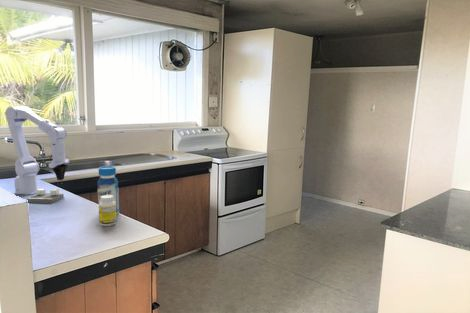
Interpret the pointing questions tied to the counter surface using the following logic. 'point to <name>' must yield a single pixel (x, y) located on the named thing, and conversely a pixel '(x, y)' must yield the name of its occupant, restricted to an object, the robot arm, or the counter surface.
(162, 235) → the counter surface
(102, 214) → the pill bottle
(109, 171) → the beverage bottle
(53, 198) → the switch panel
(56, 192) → the switch tab
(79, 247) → the counter surface
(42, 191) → the switch tab
